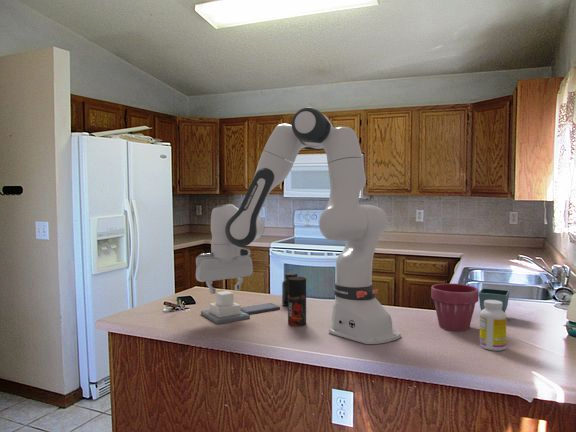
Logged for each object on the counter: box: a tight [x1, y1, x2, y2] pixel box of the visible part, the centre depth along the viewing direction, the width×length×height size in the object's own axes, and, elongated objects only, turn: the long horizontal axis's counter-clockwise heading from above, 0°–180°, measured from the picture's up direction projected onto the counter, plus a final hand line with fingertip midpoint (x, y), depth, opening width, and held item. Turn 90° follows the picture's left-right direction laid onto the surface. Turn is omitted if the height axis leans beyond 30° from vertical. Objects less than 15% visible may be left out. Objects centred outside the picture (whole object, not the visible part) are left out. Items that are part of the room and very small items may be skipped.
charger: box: [215, 290, 235, 307], centre depth 158 cm, size 5×4×7 cm
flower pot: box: [478, 287, 510, 313], centre depth 156 cm, size 9×9×9 cm
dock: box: [200, 301, 251, 325], centre depth 158 cm, size 14×12×4 cm
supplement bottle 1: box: [281, 272, 299, 307], centre depth 173 cm, size 7×7×12 cm
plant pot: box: [430, 283, 479, 332], centre depth 145 cm, size 14×14×13 cm
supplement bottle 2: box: [479, 300, 507, 352], centre depth 126 cm, size 7×7×13 cm
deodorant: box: [287, 276, 307, 327], centre depth 148 cm, size 6×6×15 cm
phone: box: [240, 302, 281, 315], centre depth 166 cm, size 14×7×1 cm, turn 123°
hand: (225, 291), depth 157 cm, fingers open, 8 cm apart
